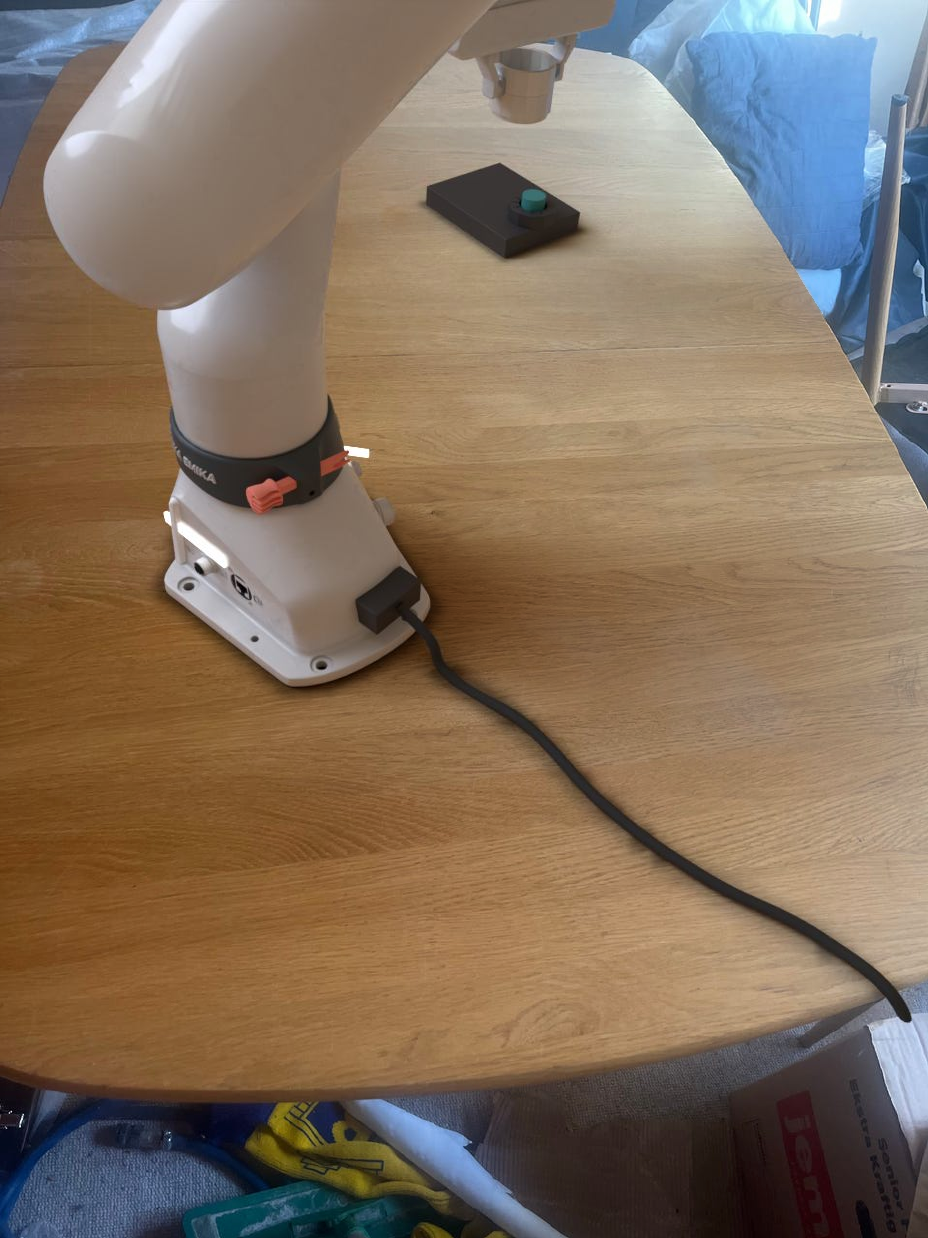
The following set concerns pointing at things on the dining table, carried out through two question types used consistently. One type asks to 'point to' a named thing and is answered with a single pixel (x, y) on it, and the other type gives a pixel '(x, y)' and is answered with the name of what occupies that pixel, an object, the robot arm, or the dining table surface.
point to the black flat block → (500, 210)
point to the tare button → (533, 200)
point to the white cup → (525, 85)
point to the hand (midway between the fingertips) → (522, 87)
